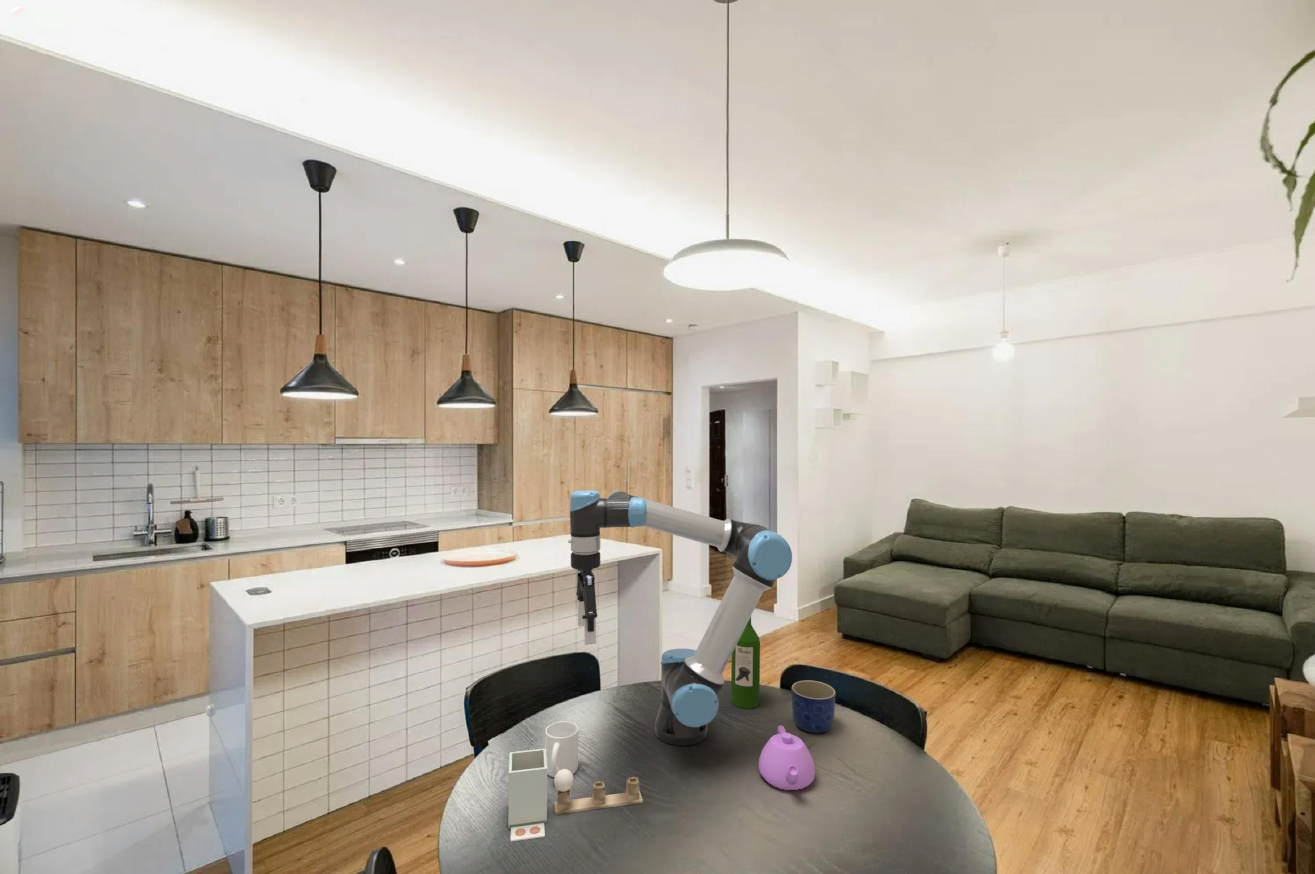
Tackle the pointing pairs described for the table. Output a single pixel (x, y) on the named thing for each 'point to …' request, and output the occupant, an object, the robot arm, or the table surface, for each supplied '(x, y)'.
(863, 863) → the table surface
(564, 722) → the mug
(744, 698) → the wine bottle
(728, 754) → the table surface
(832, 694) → the planter
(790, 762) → the teapot
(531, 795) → the grey-green tall hollow box
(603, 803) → the rack
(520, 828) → the card
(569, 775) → the ball
